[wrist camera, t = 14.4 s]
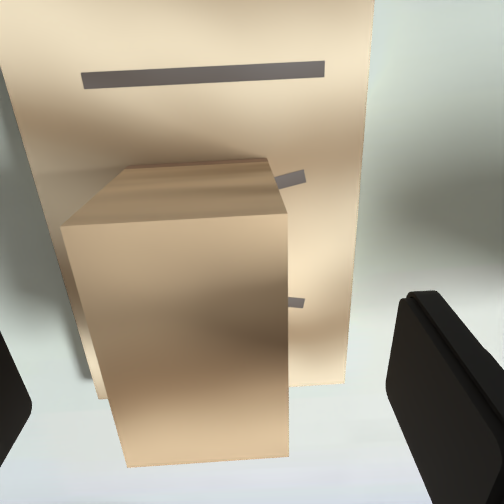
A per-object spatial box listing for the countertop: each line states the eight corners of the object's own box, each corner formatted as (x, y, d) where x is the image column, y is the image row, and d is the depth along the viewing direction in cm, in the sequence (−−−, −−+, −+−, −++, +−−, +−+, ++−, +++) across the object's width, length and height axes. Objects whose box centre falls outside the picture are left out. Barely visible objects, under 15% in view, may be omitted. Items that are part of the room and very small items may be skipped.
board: (-100, -364, 9) (-144, -422, 8) (388, -378, 10) (409, -437, 8) (106, 381, 20) (98, 399, 18) (338, 366, 20) (344, 383, 19)
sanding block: (128, 165, 14) (59, 226, 8) (266, 157, 14) (287, 213, 8) (161, 342, 17) (127, 467, 12) (271, 335, 17) (288, 456, 12)
